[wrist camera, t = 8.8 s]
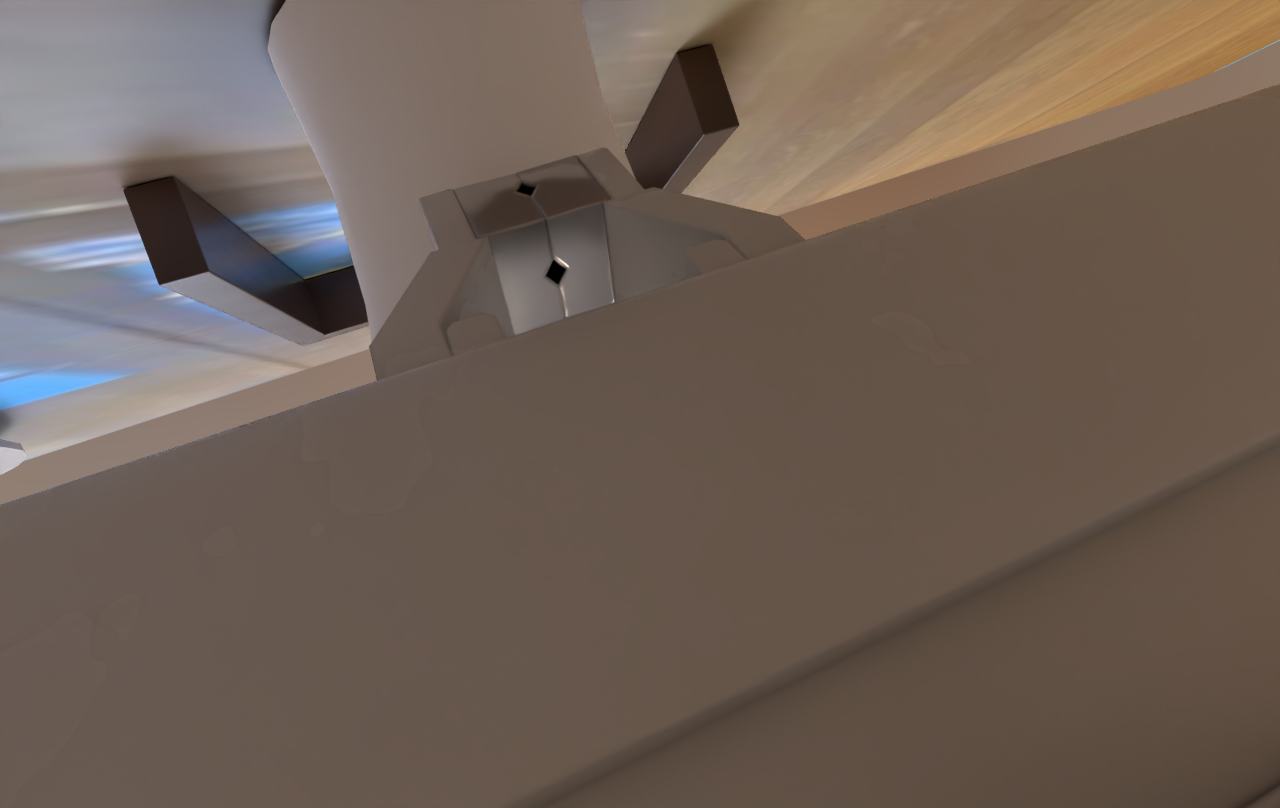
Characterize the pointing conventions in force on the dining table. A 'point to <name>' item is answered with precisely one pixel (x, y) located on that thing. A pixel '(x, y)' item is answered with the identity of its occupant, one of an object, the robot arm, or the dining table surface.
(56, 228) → the dining table surface
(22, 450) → the plated food
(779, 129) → the dining table surface
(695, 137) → the dark brown flat frame
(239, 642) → the robot arm
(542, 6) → the cup
